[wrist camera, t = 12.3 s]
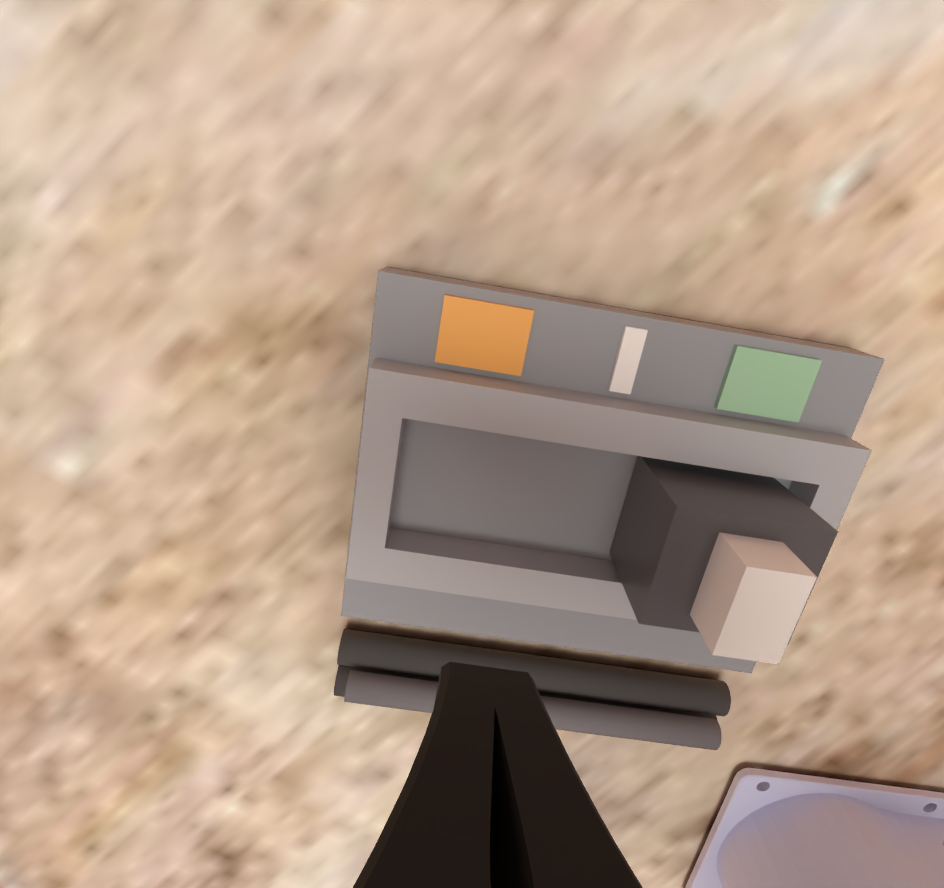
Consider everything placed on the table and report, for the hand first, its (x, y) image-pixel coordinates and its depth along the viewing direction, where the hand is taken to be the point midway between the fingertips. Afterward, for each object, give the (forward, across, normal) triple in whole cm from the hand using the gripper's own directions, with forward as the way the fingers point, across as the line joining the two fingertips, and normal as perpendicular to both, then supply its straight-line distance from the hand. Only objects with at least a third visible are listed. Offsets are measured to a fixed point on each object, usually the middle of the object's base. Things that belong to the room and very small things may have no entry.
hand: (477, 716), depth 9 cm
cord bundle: (+10, -4, +8) cm, 13 cm away
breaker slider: (+9, -7, 0) cm, 11 cm away
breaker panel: (+10, -4, 0) cm, 11 cm away
